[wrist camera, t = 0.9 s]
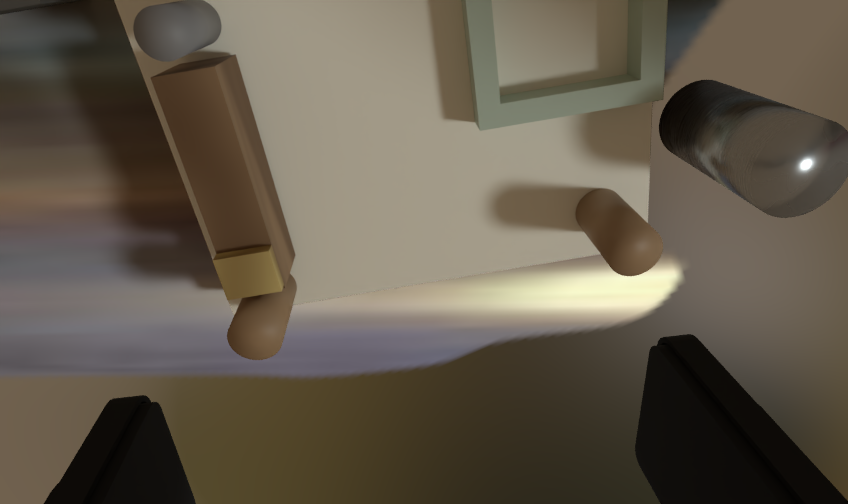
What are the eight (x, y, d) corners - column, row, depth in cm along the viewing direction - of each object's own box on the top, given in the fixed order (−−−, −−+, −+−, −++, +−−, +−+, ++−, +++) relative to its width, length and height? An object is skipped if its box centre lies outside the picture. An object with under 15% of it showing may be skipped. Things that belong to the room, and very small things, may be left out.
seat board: (635, -160, 23) (729, -206, 17) (628, 226, 31) (688, 291, 25) (-24, -43, 23) (-173, -46, 17) (141, 307, 31) (81, 391, 25)
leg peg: (703, 62, 27) (815, 96, 20) (752, 111, 28) (874, 159, 21) (643, 128, 28) (728, 181, 21) (692, 171, 30) (788, 235, 23)
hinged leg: (235, 54, 23) (210, 69, 20) (295, 255, 27) (282, 295, 24) (179, 63, 23) (144, 80, 20) (248, 262, 27) (229, 304, 24)
